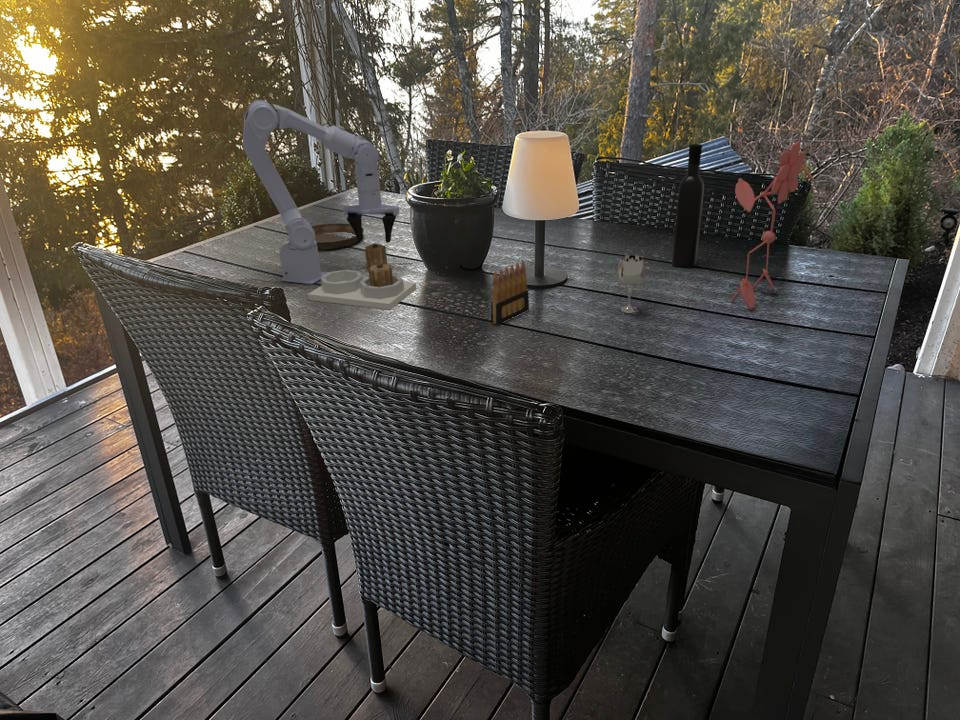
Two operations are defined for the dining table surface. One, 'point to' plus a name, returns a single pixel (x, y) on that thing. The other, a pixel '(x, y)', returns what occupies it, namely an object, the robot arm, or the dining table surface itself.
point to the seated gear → (380, 275)
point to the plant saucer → (332, 240)
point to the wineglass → (630, 276)
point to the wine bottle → (689, 212)
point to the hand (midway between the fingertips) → (374, 241)
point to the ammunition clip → (509, 294)
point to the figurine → (783, 183)
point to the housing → (360, 290)
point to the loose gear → (375, 255)
